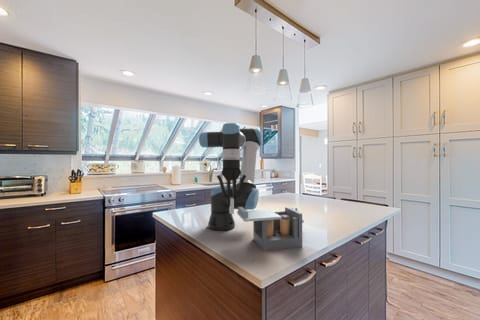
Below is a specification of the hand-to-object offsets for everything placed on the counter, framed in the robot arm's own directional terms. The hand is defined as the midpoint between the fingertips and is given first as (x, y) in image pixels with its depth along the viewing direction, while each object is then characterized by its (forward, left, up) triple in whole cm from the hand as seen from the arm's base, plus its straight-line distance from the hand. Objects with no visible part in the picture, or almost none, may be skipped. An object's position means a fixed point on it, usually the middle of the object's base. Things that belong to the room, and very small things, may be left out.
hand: (231, 213), depth 95 cm
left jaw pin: (0, +17, -15) cm, 23 cm away
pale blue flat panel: (0, +12, -2) cm, 12 cm away
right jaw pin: (0, +25, -15) cm, 29 cm away
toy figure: (-14, +37, -15) cm, 42 cm away
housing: (0, +21, -15) cm, 26 cm away
